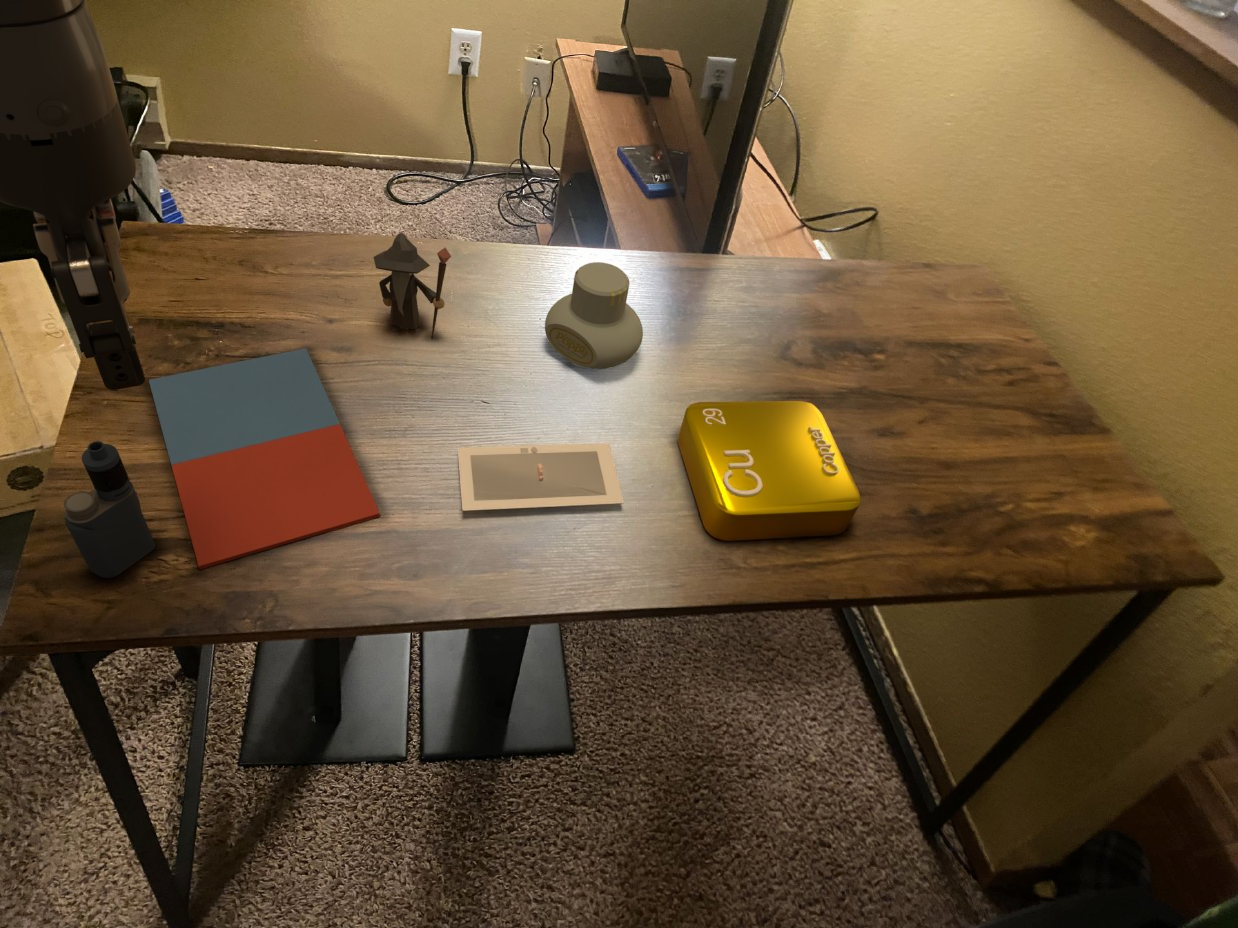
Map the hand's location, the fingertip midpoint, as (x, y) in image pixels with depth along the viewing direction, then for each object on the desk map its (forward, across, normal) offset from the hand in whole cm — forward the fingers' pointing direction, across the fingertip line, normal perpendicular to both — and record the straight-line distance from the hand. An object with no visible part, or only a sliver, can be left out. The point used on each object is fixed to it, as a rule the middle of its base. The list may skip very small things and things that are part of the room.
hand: (117, 341), depth 54 cm
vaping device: (+22, 0, -5) cm, 23 cm away
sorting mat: (+22, -9, +8) cm, 25 cm away
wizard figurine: (+22, -22, +27) cm, 41 cm away
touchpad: (+22, +4, +30) cm, 38 cm away
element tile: (+21, +11, +52) cm, 57 cm away
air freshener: (+22, -13, +44) cm, 51 cm away
